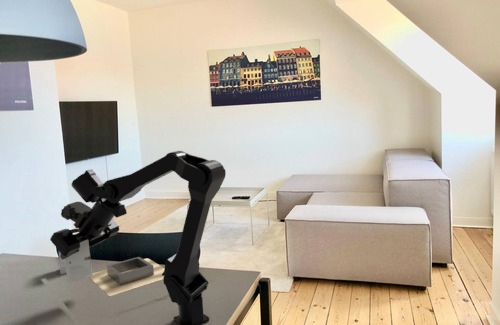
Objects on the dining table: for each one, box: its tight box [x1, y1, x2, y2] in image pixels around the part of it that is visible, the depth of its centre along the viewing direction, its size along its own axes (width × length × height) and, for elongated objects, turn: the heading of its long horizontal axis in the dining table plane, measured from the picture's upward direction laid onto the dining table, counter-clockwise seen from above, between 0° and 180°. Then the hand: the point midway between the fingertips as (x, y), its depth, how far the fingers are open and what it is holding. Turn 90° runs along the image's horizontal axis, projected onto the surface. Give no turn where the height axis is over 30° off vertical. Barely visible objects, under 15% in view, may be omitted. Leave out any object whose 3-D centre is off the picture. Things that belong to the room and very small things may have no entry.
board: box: [90, 258, 165, 297], centre depth 122 cm, size 20×20×1 cm
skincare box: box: [65, 231, 93, 284], centre depth 107 cm, size 6×4×12 cm
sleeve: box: [106, 256, 154, 285], centre depth 122 cm, size 10×10×3 cm
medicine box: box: [58, 250, 66, 275], centre depth 129 cm, size 8×4×9 cm, turn 25°
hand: (73, 253), depth 107 cm, fingers closed on skincare box, 7 cm apart
